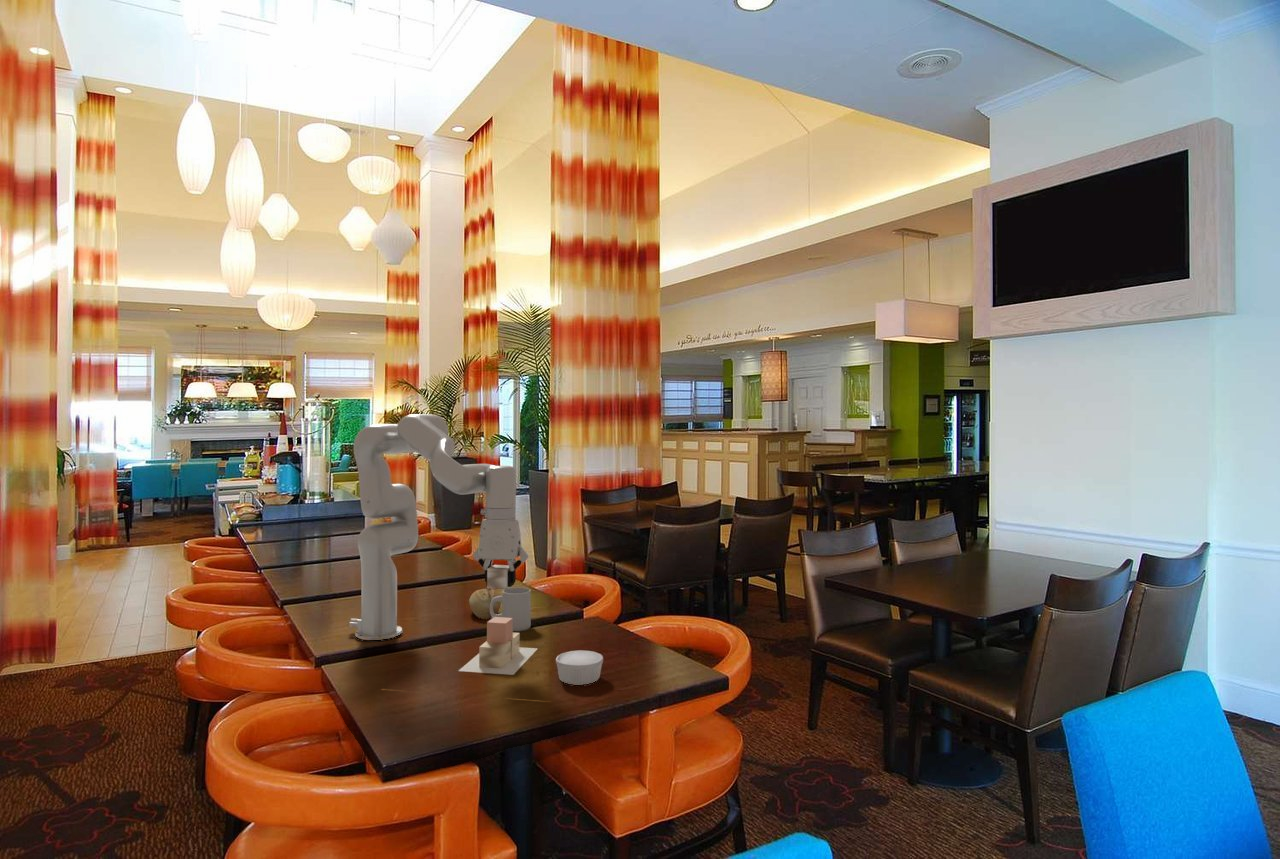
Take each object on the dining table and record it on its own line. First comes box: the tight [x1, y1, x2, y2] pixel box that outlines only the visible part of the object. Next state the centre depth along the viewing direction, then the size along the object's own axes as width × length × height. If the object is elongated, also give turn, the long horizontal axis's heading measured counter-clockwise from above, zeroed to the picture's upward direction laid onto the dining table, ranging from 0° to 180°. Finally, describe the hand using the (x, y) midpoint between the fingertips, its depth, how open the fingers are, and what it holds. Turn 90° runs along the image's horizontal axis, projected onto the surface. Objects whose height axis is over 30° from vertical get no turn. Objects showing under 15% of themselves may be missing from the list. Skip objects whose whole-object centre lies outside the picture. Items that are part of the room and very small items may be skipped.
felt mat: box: [458, 646, 539, 676], centre depth 180 cm, size 14×20×1 cm
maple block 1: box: [478, 640, 511, 669], centre depth 176 cm, size 6×6×5 cm
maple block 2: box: [509, 631, 521, 659], centre depth 183 cm, size 6×6×5 cm
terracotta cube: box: [486, 617, 514, 643], centre depth 180 cm, size 5×5×5 cm
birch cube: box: [486, 564, 510, 590], centre depth 179 cm, size 5×5×5 cm
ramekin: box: [555, 649, 604, 686], centre depth 167 cm, size 11×11×5 cm
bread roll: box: [468, 588, 502, 620], centre depth 223 cm, size 10×15×8 cm, turn 23°
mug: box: [490, 586, 532, 632], centre depth 208 cm, size 12×8×11 cm
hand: (500, 584), depth 179 cm, fingers closed on birch cube, 4 cm apart
